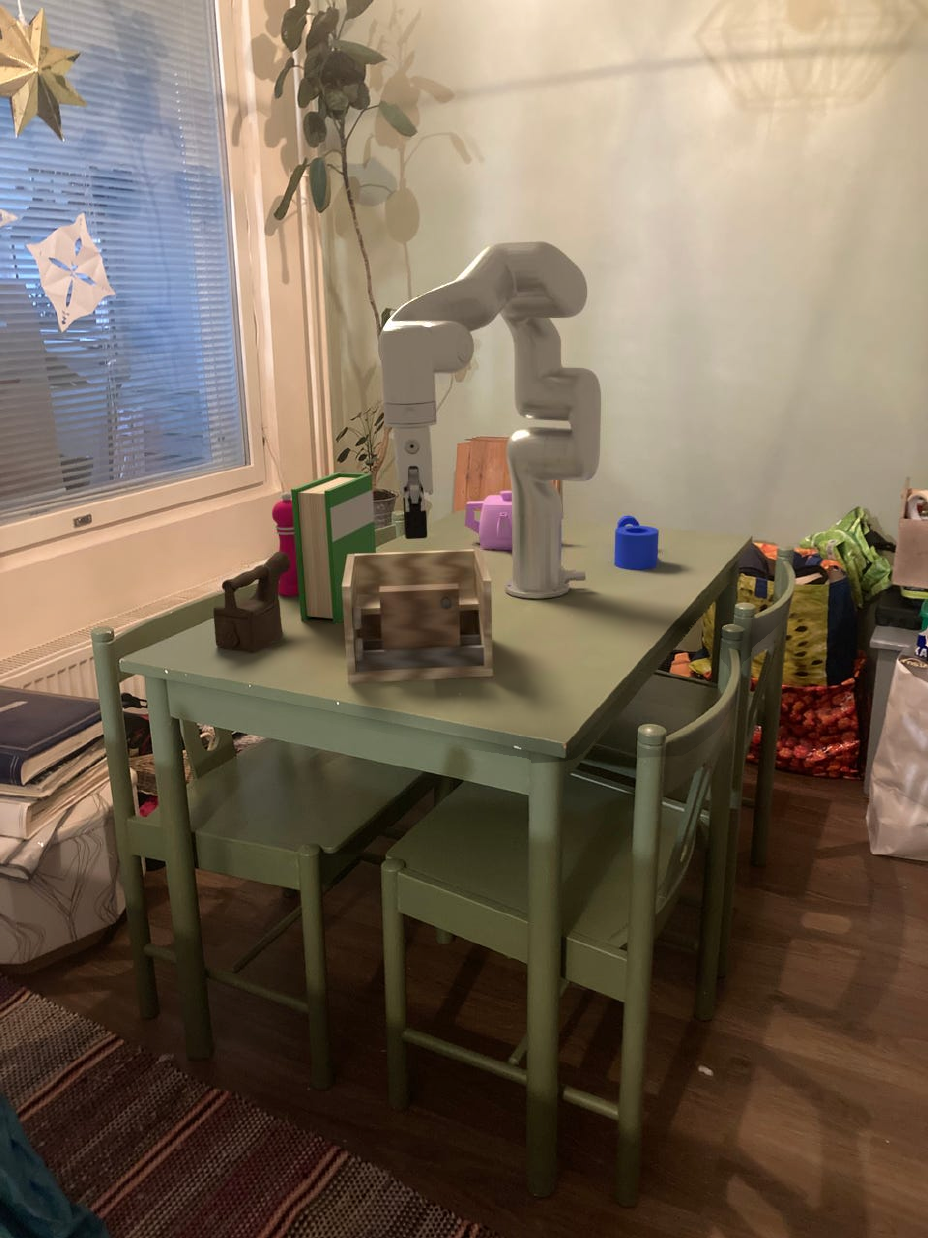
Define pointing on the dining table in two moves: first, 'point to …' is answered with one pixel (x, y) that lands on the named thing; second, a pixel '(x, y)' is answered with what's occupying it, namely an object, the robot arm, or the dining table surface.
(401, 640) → the wooden block
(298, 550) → the hardback book
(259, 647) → the clothes iron
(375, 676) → the wooden shelf rack
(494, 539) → the teakettle
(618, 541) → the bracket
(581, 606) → the dining table surface
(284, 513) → the pepper mill
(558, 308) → the robot arm
